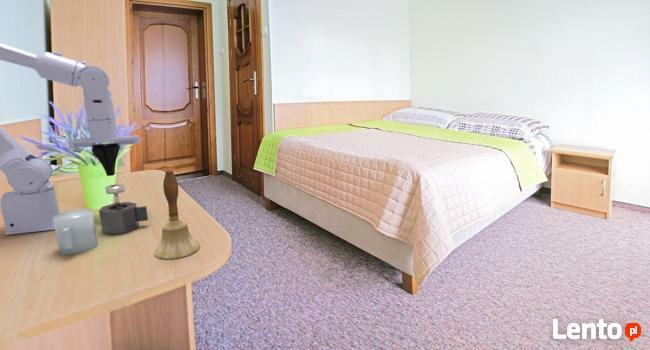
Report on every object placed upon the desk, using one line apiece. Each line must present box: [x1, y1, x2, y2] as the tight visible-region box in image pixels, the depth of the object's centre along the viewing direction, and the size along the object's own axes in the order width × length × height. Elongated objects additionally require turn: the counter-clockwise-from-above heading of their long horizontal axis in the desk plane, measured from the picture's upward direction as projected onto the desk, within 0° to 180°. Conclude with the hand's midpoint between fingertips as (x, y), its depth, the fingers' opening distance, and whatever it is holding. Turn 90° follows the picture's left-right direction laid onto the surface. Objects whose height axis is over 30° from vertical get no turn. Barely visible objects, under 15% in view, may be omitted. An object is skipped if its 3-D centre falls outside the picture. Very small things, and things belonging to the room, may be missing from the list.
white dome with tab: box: [53, 208, 99, 256], centre depth 68 cm, size 6×8×7 cm
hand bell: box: [154, 169, 201, 260], centre depth 67 cm, size 8×8×16 cm
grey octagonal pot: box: [98, 201, 149, 236], centre depth 79 cm, size 9×7×5 cm
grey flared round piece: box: [104, 183, 126, 209], centre depth 78 cm, size 4×4×6 cm
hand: (111, 174), depth 86 cm, fingers closed
